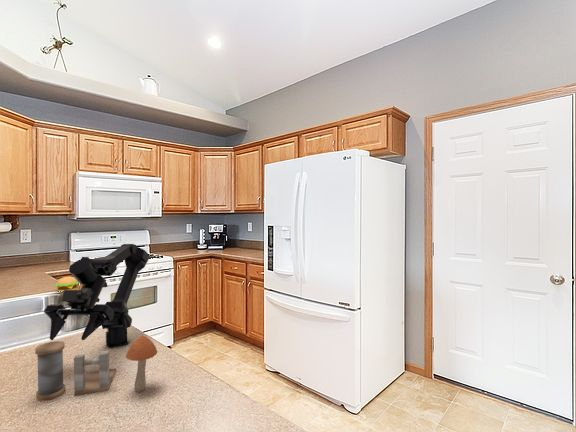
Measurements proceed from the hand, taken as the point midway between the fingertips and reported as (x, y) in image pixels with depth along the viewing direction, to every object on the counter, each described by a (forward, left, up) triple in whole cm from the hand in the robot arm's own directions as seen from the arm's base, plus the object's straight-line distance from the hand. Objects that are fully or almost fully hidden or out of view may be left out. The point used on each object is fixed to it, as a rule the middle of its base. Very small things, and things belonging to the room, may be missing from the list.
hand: (66, 339), depth 95 cm
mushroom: (-17, +17, -12) cm, 27 cm away
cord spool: (+4, +5, -12) cm, 14 cm away
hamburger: (-2, -130, -12) cm, 131 cm away
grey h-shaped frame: (-7, +6, -12) cm, 15 cm away
